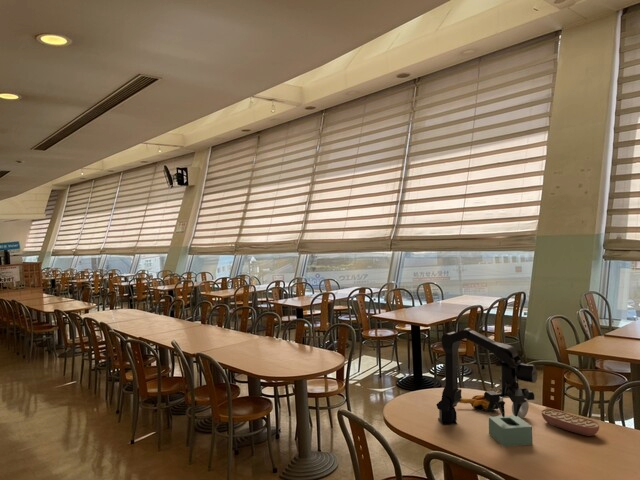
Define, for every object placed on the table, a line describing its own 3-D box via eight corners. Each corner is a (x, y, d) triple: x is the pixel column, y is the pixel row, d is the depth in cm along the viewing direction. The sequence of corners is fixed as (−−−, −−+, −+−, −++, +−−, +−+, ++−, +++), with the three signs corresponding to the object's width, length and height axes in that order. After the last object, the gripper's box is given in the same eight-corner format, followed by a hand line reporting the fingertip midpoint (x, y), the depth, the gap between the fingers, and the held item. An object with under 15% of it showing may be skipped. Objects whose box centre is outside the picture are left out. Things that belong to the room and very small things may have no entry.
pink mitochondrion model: (603, 435, 189) (603, 423, 189) (591, 442, 183) (591, 429, 183) (549, 418, 208) (548, 407, 208) (536, 423, 202) (536, 412, 202)
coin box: (503, 446, 181) (502, 428, 181) (489, 433, 193) (488, 416, 193) (532, 444, 183) (532, 426, 183) (516, 431, 195) (516, 415, 194)
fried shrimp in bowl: (503, 405, 213) (464, 392, 215) (494, 422, 217) (456, 409, 219) (501, 391, 221) (463, 379, 223) (492, 408, 226) (455, 395, 228)
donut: (517, 422, 204) (516, 399, 204) (510, 419, 207) (509, 397, 207) (530, 416, 210) (530, 394, 210) (523, 414, 213) (523, 392, 213)
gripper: (496, 385, 179) (497, 426, 179) (542, 382, 181) (543, 423, 181) (482, 377, 190) (483, 415, 190) (526, 374, 192) (527, 412, 192)
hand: (509, 416), depth 188 cm, fingers open, 5 cm apart
